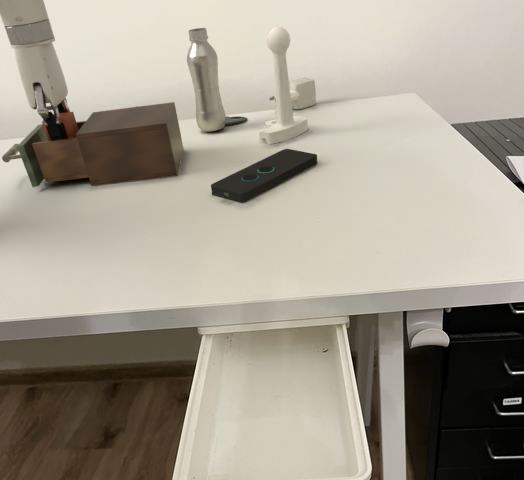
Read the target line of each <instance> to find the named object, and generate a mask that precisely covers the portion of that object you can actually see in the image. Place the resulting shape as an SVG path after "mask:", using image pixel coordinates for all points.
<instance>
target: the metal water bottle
mask: <svg viewBox="0 0 524 480" xmlns="http://www.w3.org/2000/svg"><path fill="white" fill-rule="evenodd" d="M188 37H189V38H188V39H189V42H191V44H190V47H189V48H188V52H187V55H186V63H187V68H188V71H189V74H190V78H191V81H192V86H193V89H194V96H195V98H194V99H195V108H196V110H195V120H196V124H197V127H198V128H199V129H200V131H202V132H216V131H219V130H222V129H224V128H225V126H226V123H227V115H226V112H225V109H224V106H223V102H222V97H221V92H220V85H219V60H218V59H219V58H218V54H217V51H216V50H215V48H214V47H213V46H212V45H211V44H210V43H209V41H208V39H209V35H208V31H207V28H206V27H199V28H191V29H189V30H188Z"/></svg>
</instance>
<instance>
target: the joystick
mask: <svg viewBox="0 0 524 480" xmlns="http://www.w3.org/2000/svg"><path fill="white" fill-rule="evenodd" d="M266 44H267V47H268V49H269V51H271V53H272V56H273V69H274V91H275V92H274V93H275V96H276V99H275V100H276V101H275V115H276V116H275V117H276V119H270V120H268V121H266V122H265V123H264V125H265V128H261V129H259V130H258V134H259V140H261V141H265V143H266V144H268V145H274V144H277V143H281V142H285V141H288V140H291V139H293V138H295V137H298V136H300V135H302V134H303V133H305V132H307V131H308V130H309V120H308V117H304V116H298V115H297V116H295V115H294V111H293V108H292V103H291V95H290V87H289V82H290V80H289V71H288V63H287V51H288V49H289V47H290V45H291V36H290V33H289V31H288V30H287V29H286V28H284V27H283V26H276V27H273V28H272V29H270V31H269V32H268V34H267V37H266Z"/></svg>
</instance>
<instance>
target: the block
mask: <svg viewBox="0 0 524 480" xmlns="http://www.w3.org/2000/svg"><path fill="white" fill-rule="evenodd" d="M53 115H54V113H53ZM59 116H60V120H61V123H63V124H64V127H65V130H66V133H67V136H68V139H70V138H76V133H77V132H78V131H79V129H78V126H77V123H76V122H77V120H76V116H75V114H74V111H70V112H66V113H59ZM41 123H42V124H43V127H44V130H45V133H46V135H47V138H48V141H51V140H50V137H49V134H48V131H47V128H46V126H45V124H44V121H43V120H42V121H41Z"/></svg>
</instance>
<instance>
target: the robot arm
mask: <svg viewBox="0 0 524 480" xmlns="http://www.w3.org/2000/svg"><path fill="white" fill-rule="evenodd" d="M0 18H1V21H2V24H3V26H4V29H5V31H6V32H5V33H6V35H7V39H8V41H9V44H10V47H11V48H12V49H13V50H14V56H15V61H16V66H17V68H18V73H19V76H20V80H21V83H22V87H23V89H24V93H25V96H26V99H27V104H28V105H29V107H30V109H32V110H34V111H35V110H36V112H37V114H38V115H39V116H40V117H41V119H42V121H44V124H45V126H46V128H47V131H48V134H49V137H50V140H51V141H54V140H62V139H68V136H67V133H66V130H65V127H64V124H63V123H61V120H60V116H59V113H66V112H71V110H70V107H69V105H68V100H67V96H68V93H69V90H68V86H67V82H66V79H65V75H64V72H63V69H62V65H61V62H60V60H59V57H58V55H57V52H56V50H55V47H54V44H53V42H56V36H55V35H54V31H53V28H52V25H51V21H50V18H49V15H48V12H47V8H46V5H45V1H44V0H0ZM47 104H49V105H48V106H47ZM52 111H53V112H52ZM53 114H54V115H53Z"/></svg>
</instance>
